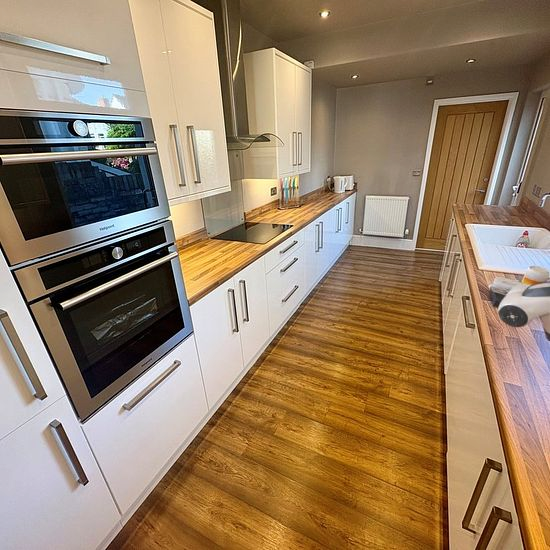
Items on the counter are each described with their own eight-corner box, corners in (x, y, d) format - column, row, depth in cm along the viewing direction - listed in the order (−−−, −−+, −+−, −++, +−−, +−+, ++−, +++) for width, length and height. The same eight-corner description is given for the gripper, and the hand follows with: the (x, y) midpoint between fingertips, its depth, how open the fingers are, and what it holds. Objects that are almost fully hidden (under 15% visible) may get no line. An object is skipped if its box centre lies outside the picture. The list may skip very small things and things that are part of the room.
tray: (519, 297, 128) (522, 290, 126) (526, 313, 116) (529, 307, 114) (489, 291, 133) (491, 285, 131) (493, 306, 121) (495, 300, 119)
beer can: (533, 313, 101) (550, 274, 94) (511, 307, 105) (527, 269, 98) (534, 306, 105) (551, 268, 99) (513, 300, 109) (528, 264, 102)
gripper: (483, 295, 102) (494, 283, 110) (561, 319, 88) (567, 303, 96) (489, 279, 99) (500, 268, 107) (570, 301, 85) (575, 287, 94)
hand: (532, 285), depth 102 cm, fingers closed on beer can, 6 cm apart
